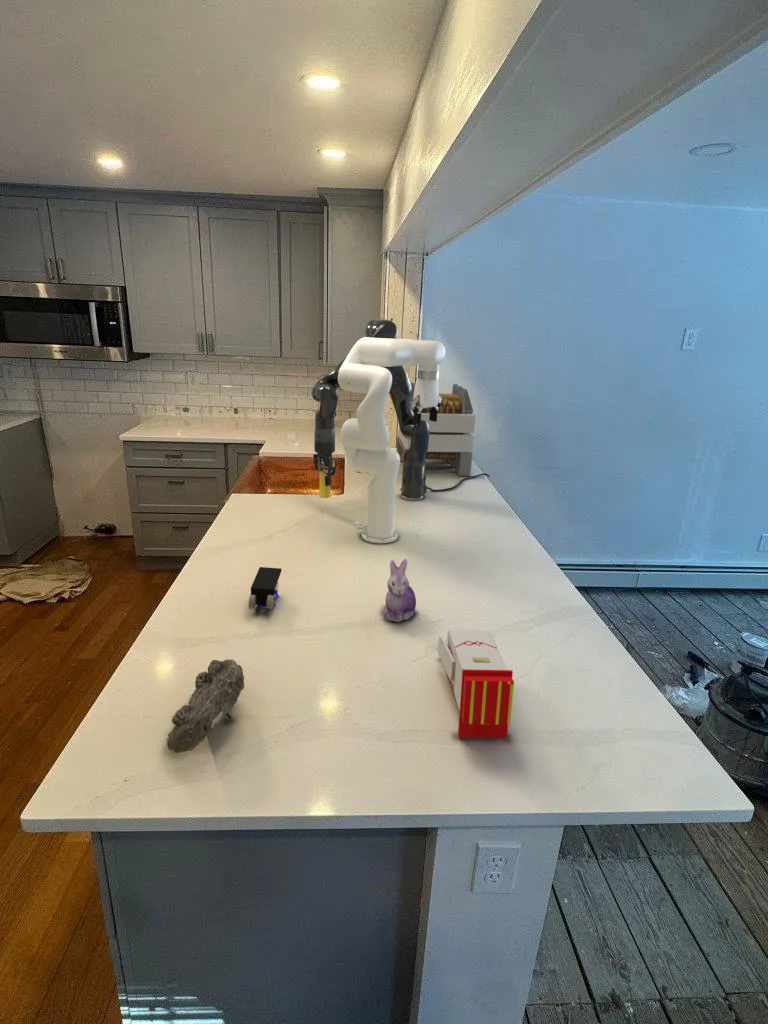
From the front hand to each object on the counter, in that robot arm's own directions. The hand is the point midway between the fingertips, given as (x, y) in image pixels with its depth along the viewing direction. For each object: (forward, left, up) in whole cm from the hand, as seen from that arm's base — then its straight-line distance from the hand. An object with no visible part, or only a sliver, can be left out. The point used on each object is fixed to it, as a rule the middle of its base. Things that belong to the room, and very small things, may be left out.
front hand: (424, 422), depth 212 cm
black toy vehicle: (-21, -88, -35) cm, 97 cm away
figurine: (+14, -80, -35) cm, 89 cm away
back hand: (-33, -17, -23) cm, 44 cm away
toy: (+36, -106, -35) cm, 117 cm away
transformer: (-10, +67, -35) cm, 76 cm away
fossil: (-9, -131, -35) cm, 135 cm away
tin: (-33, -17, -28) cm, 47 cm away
